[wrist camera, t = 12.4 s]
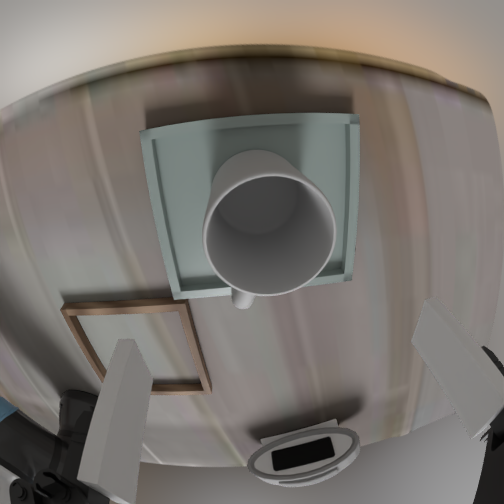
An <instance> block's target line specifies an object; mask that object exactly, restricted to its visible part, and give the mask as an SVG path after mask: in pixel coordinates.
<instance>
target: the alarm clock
mask: <svg viewBox="0 0 504 504" xmlns="http://www.w3.org/2000/svg"><path fill="white" fill-rule="evenodd" d="M260 440H261V443H262V445H263V447H261V448H260V449H259V450H257V451H256V452H255V453H253V455H252V456H251V457H250V458H249V460H248V464H247V467H248V469H249V471H250V472H251V473H252V474H254V475H255V476H257V477H258V478H260V479H261V480H263V481H264V482H268V483H270V484H275V485H282V486H284V487H301V486H307V485H312V484H316V483H319V482H321V481H324V480H326V479H329V478H330V477H332V476H334V475H336V474H338V473H339V472H340V471H341V470H343V469H344V468H346V467H347V466H348V465H349V464H351V463H352V462H353V461H354V460H355V458H357V456H358V454H359V452H360V440H359V436H358V435H357V433H356V432H355V431H352V430H350V429H348V428H340V427H338V423H337V420H336V419H333V420H330V421H327V422H323V423H320V424H317V425H314V426H310V427H307V428H303V429H300V430H296V431H292V432H289V433H285V434H281V435H276V436H272V437H268V438H263V439H260Z"/></svg>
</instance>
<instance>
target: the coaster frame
mask: <svg viewBox="0 0 504 504" xmlns="http://www.w3.org/2000/svg"><path fill="white" fill-rule="evenodd" d="M60 310H61V312H62V314H63V316H64V318H65V320H66V322H67V324H68V326H69V328H70V330H71V332H72V333H73V335H74V337H75V339H76V341H77V343H78V344H79V346H80V348H81V349H82V351H83V353H84V355H85V356H86V358H87V360H88V361H89V363H90V364H91V366H92V368H93V369H94V371H95V372H96V374H97V375H98V377H99V378H100V380H101V381H102V383H103V381H104V378H105V375H106V373H107V371H106V370H105V368H104V366H103V365H102V363H101V361H100V360H99V358H98V356H97V355H96V353H95V351H94V349H93V348H92V346H91V344H90V342H89V340H88V338H87V336H86V335H85V333H84V331H83V329H82V327H81V325H80V323H79V321H78V319H77V317H76V315H115V314H138V313H157V312H173V311H179V315H180V318H181V321H182V325H183V328H184V331H185V335H186V338H187V341H188V344H189V348H190V351H191V354H192V357H193V360H194V363H195V366H196V369H197V372H198V375H199V378H200V381H201V383H202V384H152V389H151V394H150V395H204V394H212V385H211V382H210V379H209V375H208V372H207V369H206V366H205V362H204V359H203V355H202V352H201V348H200V345H199V341H198V338H197V334H196V331H195V327H194V323H193V319H192V316H191V312H190V308H189V304H188V300H187V299H178V300H174V298H173V297H167V298H153V299H138V300H122V301H104V302H82V303H64V305H63V306H62V308H61V309H60Z"/></svg>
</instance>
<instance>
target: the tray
mask: <svg viewBox="0 0 504 504" xmlns="http://www.w3.org/2000/svg"><path fill="white" fill-rule="evenodd" d="M139 132H140V139H141V146H142V153H143V159H144V166H145V172H146V178H147V183H148V189H149V194H150V200H151V205H152V210H153V215H154V220H155V224H156V229H157V234H158V238H159V243H160V247H161V251H162V255H163V260H164V264H165V268H166V272H167V276H168V279H169V283H170V287H171V291H172V294H173V298H174V300H178V299H191V298H202V297H214V296H224V295H231V286H229V285H228V284H226V283H225V282H224V281H223V280H222V279H220V278H219V277H218V276H217V274H216V273H215V272H214V271H213V269H212V268H211V266H210V265H209V263H208V260H207V258H206V256H205V252H204V249H203V243H202V228H203V221H204V217H205V213H206V209H207V205H208V201H209V197H210V193H211V187H212V183H213V180H214V177H215V175H216V173H217V172H218V170H219V168H220V167H221V166H222V165H223V164H224V163H225V162H226V161H227V160H228V159H229V158H231V157H232V156H234V155H236V154H238V153H241V152H244V151H248V150H266V151H270V152H273V153H276V154H278V155H279V156H281V157H283V158H284V159H286V160H287V161H288V162H289V163H290V164H291V165H292V166H293V167H295V168H296V169H297V170H298V171H300V172H301V173H302V174H303V175H304V176H306V177H307V178H308V179H309V180H311V181H312V182H313V183H314V184H315V185H316V186H317V187H318V188H319V189H320V190H321V191H322V192H323V193H324V195H325V196H326V197H327V199H328V201H329V202H330V204H331V206H332V209H333V211H334V214H335V219H336V227H337V235H336V242H335V247H334V250H333V252H332V255H331V257H330V259H329V261H328V262H327V264H326V265H325V267H324V268H323V269H322V271H321V272H320V273H319V274H318V275H317V276H316V277H315V278H314V279H313V280H311V281H310V282H309V283H307V284H306V285H304V286H302V287H306V286H314V285H321V284H329V283H336V282H343V281H351V280H352V273H353V264H354V255H355V244H356V232H357V218H358V200H359V171H360V130H359V114H342V113H280V114H260V115H246V116H235V117H225V118H216V119H207V120H200V121H193V122H186V123H180V124H174V125H168V126H162V127H157V128H152V129H147V130H142V131H139Z"/></svg>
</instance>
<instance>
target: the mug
mask: <svg viewBox="0 0 504 504" xmlns="http://www.w3.org/2000/svg"><path fill="white" fill-rule="evenodd" d="M336 235H337V227H336V219H335V214H334V211H333V209H332V206H331V204H330V202H329V201H328V199H327V197H326V196H325V195H324V193H323V192H322V191H321V190H320V189H319V188H318V187H317V186H316V185H315V184H314V183H313V182H312V181H311V180H309V179H308V178H307V177H306V176H304V175H303V174H302V173H301V172H300V171H298V170H297V169H296V168H295V167H293V166H292V165H291V164H290V163H289V162H288V161H287V160H286V159H284V158H283V157H281V156H279V155H278V154H276V153H273V152H270V151H266V150H248V151H244V152H241V153H238V154H236V155H234V156H232V157H231V158H229V159H228V160H227V161H226V162H225V163H224V164H223V165H222V166H221V167H220V168H219V170H218V172H217V173H216V175H215V177H214V180H213V183H212V187H211V193H210V197H209V201H208V205H207V209H206V213H205V217H204V221H203V228H202V243H203V249H204V252H205V256H206V258H207V260H208V263H209V265H210V266H211V268H212V269H213V271H214V272H215V273H216V274H217V276H218V277H219V278H220V279H222V280H223V281H224V282H225V283H226V284H228V285H229V286H231V296H232V302H233V304H234V306H236V307H237V308H240V309H247V308H249V307H250V306H251V305H252V303H253V301H254V298H255V296H256V295H258V296H275V295H281V294H285V293H288V292H292V291H294V290H296V289H299V288H301V287H302V286H304V285H306V284H307V283H309V282H310V281H311V280H313V279H314V278H315V277H316V276H317V275H318V274H319V273H320V272H321V271H322V269H323V268H324V267H325V265H326V264H327V262H328V261H329V259H330V257H331V255H332V252H333V250H334V247H335V242H336Z"/></svg>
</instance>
